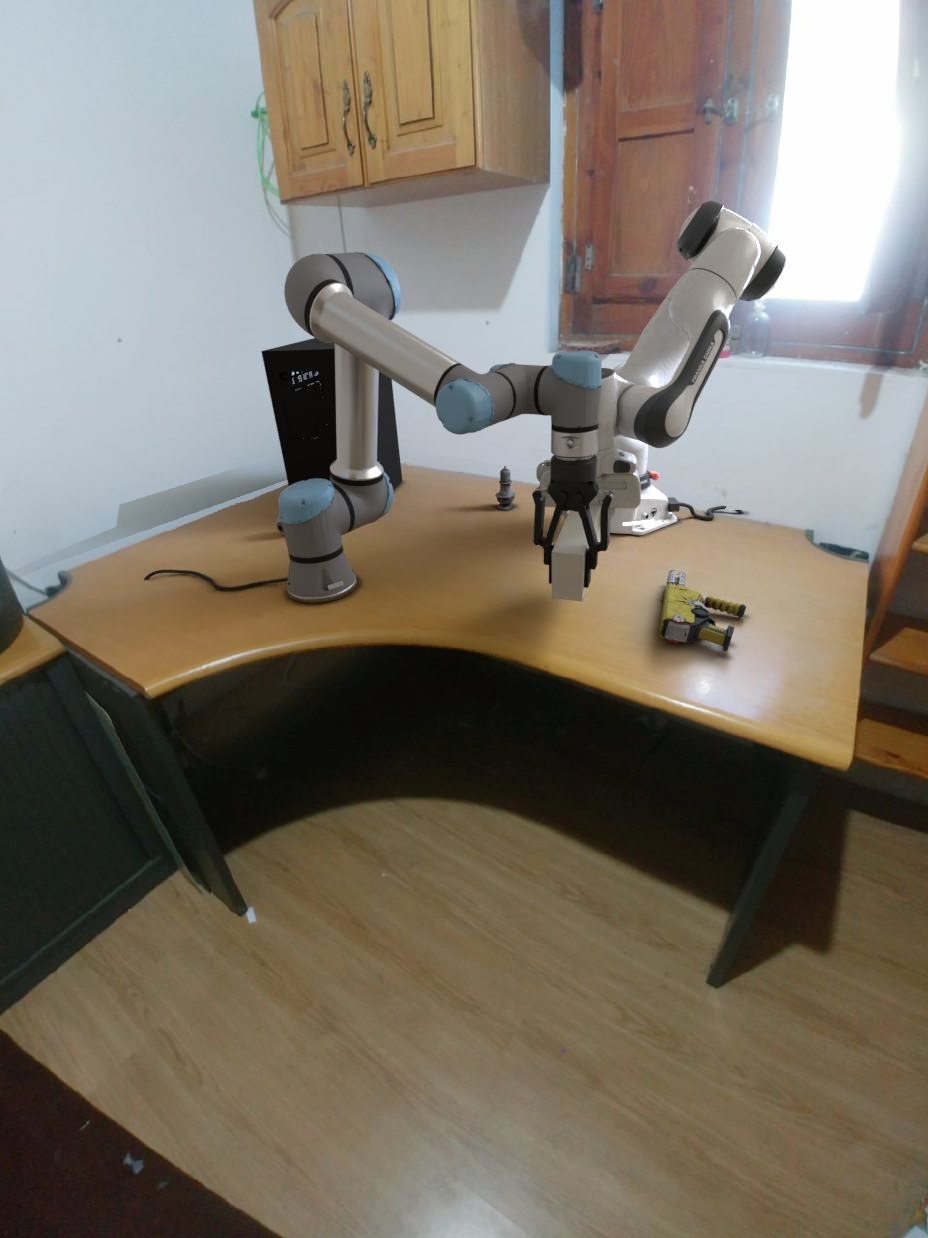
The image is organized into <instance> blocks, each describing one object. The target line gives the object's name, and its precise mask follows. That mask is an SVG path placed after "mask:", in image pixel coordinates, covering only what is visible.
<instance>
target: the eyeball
mask: <svg viewBox="0 0 928 1238" xmlns="http://www.w3.org/2000/svg"><path fill="white" fill-rule="evenodd" d="M275 527H276V529H277V530H278V531H279V532H280V533H281V534H282V535H284V531H283V526H282V522H281V519H280V517H279V515H278V516H277V517H276V520H275Z"/></svg>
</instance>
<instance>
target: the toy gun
mask: <svg viewBox="0 0 928 1238" xmlns="http://www.w3.org/2000/svg"><path fill="white" fill-rule="evenodd" d="M667 575H668V576H667V579H666V585H665V590H664V594H663V600H662V610H661V616H660V626H659V636H660V637H661V638H662V639H666V640H668V641H667V642H668V643H674V644H676V645H677V644H679V643H685V644H688V643H692V642H694V641H696V640H703V641H706V642H709V643H712V644H716V645H718V646H721V647H722V651H723V652H728V650H729V647H730V644H731V641H732V638H733V634H734V632H735V627H734V626H733V625H731V624H729V625H727V628H726V629H724V628H722V627H719V626H717V624H716V621H715V620H714V619H713V618H711V614H710V611H709V610H708V609H713V610H714V611H719V612H721V613H724V612H725V613H726V614H728V615H731V614H732V615H733V616H735V617H737V618H744V615H745V613H746V610H747V606H746V605H745V604H743V603H735V602H734V601H728V600H726V599H721V598H719V597H716V598H715V597H714V596H711V595H708V596H707V597H705V598H704V597H703V595H702V594H701V592H699V591H695V590H692V589H689V588H687V586H685V585H686V576H687V575H686V572H684V571H681V570H680V571H679V573H677V570H675V569H671V570H669V571H668V574H667ZM676 575H677V576H678V577H676Z"/></svg>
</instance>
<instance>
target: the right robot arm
mask: <svg viewBox="0 0 928 1238" xmlns="http://www.w3.org/2000/svg"><path fill="white" fill-rule="evenodd" d="M676 246H677V251H678V253H679V254H680V256H682V258H683V259H684V260H685V261H689V262H690V264H691V265H690V266H689V267H688V269H687V270H686V271H684V273H683V274H682V275H681V277H680V278H679V279H678V280H677V281H676V283H675V284H674V285H673V287H672V288H671V289H670V291H669V292H668V293H667V295H666V296H665V298H664V299H663V301H662V302H661V304H660V305H659V306H658V308H657V309H656V311H655V312H654V314H653V315H652V316H651V318H650V319H649V322H647V324H646V326H645V327H644V329H643V330H642V332H641V334H640V336H639V338H638V340H637V341H636V343H635V345H634V347H633V349H632V351H631V352H630V354H629V356H628V358H627V359H626V361H625V362H622V363H620V364H618V365H617V366H615V367H614V368H613V369H612V368H608V367H601V380H602V387H601V396H600V410H599V436H598V451H597V453H596V454H595V456H596V457H597V472H596V483H597V485H598V488H599V490H602V491H605V492H607V493H608V492H609V491H612V492H613V493H614V497H613V499H612V501H611V504H610V533H611V534H623V535H625V534H626V535H632V536H633V535H634V536H645V535H646V534H650V533H652V532H654V531H657V530H660V529H662V528H665V527H668V526H670V525H672V524H675V523H677V522H678V516H677V515H676V514H675V513H676V512H680V508H681V507H682V508H686V509H688V510H689V512H690V514H691V516H692V517H694V518H696V519H698V520H701V521H702V520H703V521H708V520H712V519H714V518H715V514H714V513H713V512H716V511H721V510H726V509H725V508H726V506H724V505H718V506H713V507H709V508H708V509H707V510H706V514H707V515H701V514H698V513H696V512H695V509H694V507H693V506H692V505H691V504H689V503H686V502H680V501H678V499H676V497H674V496H672V497H671V496H669V497H667V496H666V495H665V494H664V493H663V492H661V491H660V490H659V489H658V488H656V487H655V486H654V485H652V483H651V480H653V481H658V479H659V478H660V473H659V472H657V471H654V470H651V471H649V470H648V469H647V466H648V458H649V457H648V455H649V446H650V447H652V448H655V449H663V448H667V447H669V446H671V445H672V444H674V443H676V442H677V441H678V440H679V439H681V437H682V436H683V435H684V433H685V432H686V430H687V429H688V427H689V424H690V422H691V419H692V416H693V412H694V408H695V407H696V404H697V402H698V399H699V398H700V397H701V394H702V392H703V390H704V388H705V386H706V384H707V382H708V380H709V379H710V376H711V374H712V372H713V371H714V369H715V366H716V365H717V363H718V361H719V359H720V357H721V355H722V352H723V350H724V348H725V347H726V344H727V341H728V339H729V336H730V331H731V322H730V318H729V317H730V315H731V312H732V310H733V309H734V308H735V305H736V304H737V303H738V302H739V301H744V302H752V301H757V300H760V299H761V298H763V297H764V296H766V295H767V294H768V293H770V292H771V291H772V290H774V288H775V287H776V286H777V285H778V284H779V282H780V281H781V279H782V277H783V275H784V273H785V270H786V267H787V266H788V263H789V255H788V253H787V251H786V250H785V248H784V247H783V246H782V245H781V244H780V243H779V242H777V243H776V242H775V241H774V240H773V239H772V238H771V237H770V236H769V235H768V234H767V233H766V232H765V231H763V230H762V229H761V228H760V227H759V226H758V225H756V224H755V223H753V222H750V221H748V220H747V219H745V218H744V217H742V216H741V215H740V214H737V213H736V212H733V211H732V210H729V209H727V208H725V205H724V204H722V203H719V202H718V201H714V200H707V201H704V202H702V203H701V205H699V206H698V207H696V208H695V209H694V210H693V211H691V212H690V214H689V215H688V216H687V217H686V219H685V220H684V222H683V224H682V226H681V228H680V230H679V234H678V239H677V241H676ZM550 472H551V459H545V460H543V461H542V462H540V463H539V464H538V465H537V466H536V474H535V475H536V479H537V481H538V482H539V485H538V487H540V488H545V487H548V485H549V483H550ZM598 501H599V499H598V497H595V498H594V499H593V500H592V501H591V503H590V504H589V505H600V504H599V502H598ZM600 506H602V505H600ZM555 507H556V504H555V502H554V501H553V499H552V498H551V496H550V495H549V494H547V499H546V500H545V508H555ZM733 511H734V512H736V513H738V514H739V515H744V514H745V513H744V511H743V510H742V509H741V510H733ZM568 514H569V512H568V511H563V514H562V518H563V520H565V521H566V518H567V516H568Z"/></svg>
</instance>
